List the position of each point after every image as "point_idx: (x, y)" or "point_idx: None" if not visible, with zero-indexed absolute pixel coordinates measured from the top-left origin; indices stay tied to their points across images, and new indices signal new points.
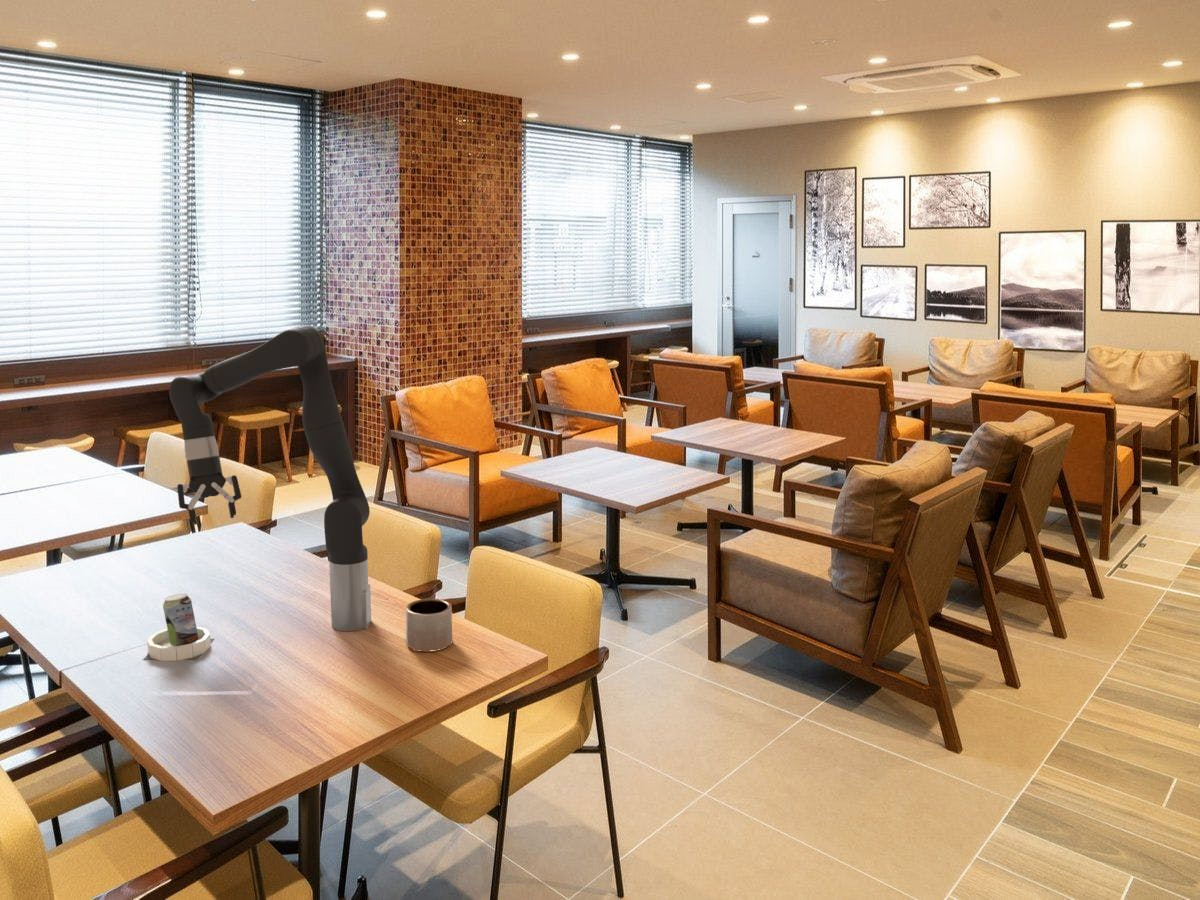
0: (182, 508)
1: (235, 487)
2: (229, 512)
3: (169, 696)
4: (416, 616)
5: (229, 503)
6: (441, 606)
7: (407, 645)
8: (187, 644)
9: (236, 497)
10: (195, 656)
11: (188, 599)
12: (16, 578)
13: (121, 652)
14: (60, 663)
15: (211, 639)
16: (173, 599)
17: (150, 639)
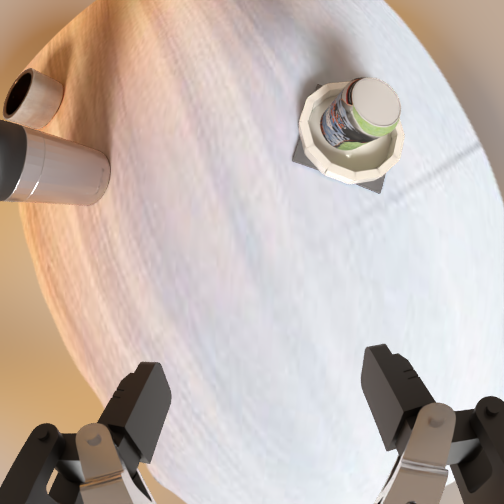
0: (485, 397)
1: (23, 491)
2: (163, 416)
3: (338, 14)
4: (34, 70)
5: (123, 433)
6: (9, 112)
7: (62, 94)
8: (335, 88)
9: (58, 438)
10: None
11: (347, 90)
12: None
13: (432, 170)
14: (487, 167)
15: (298, 157)
16: (380, 86)
17: (399, 135)
